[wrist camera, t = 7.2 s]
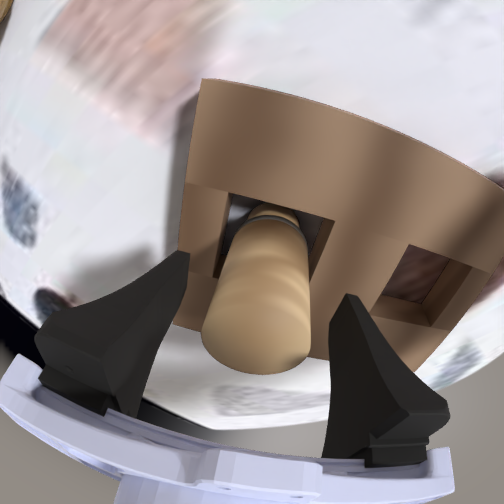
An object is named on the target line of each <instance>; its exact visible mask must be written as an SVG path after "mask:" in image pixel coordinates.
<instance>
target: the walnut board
mask: <svg viewBox="0 0 504 504" xmlns="http://www.w3.org/2000/svg"><path fill="white" fill-rule="evenodd" d="M233 193H234V194H238V195H242V196H246V197H250V198H254V199H258V200H262V201H266V202H269V203H273V204H277V205H281V206H284V207H288V208H292V209H296V210H299V211H303V212H306V213H310V214H313V215H317V216H320V217H324V219H323V222H322V224H321V227H320V230H319V232H318V235H317V237H316V240H315V243H314V245H313V248H312V250H311V253H310V255H309V258H308V267H309V291H310V327H311V346H310V351H309V353H308V355H307V357H311V358H316V359H322V360H328V361H329V348H328V333H329V322H330V320H331V319H332V317H333V315H334V313H335V312H336V310H337V308H338V306H339V305H340V303H341V301H342V299H343V297H344V295H345V294H346V293H348V294H353V295H357V296H358V297H359V298H360V300H361V301H362V303H363V305H364V306H365V308H366V309H367V311H368V313H369V314H370V316H371V317H372V319H373V321H374V322H375V324H376V325H377V327H378V328H379V330H380V331H381V333H382V334H383V336H384V337H385V339H386V340H387V342H388V343H389V344H390V346H391V347H392V349H393V350H394V351H395V352H396V354H397V355H398V356H399V357H400V358H401V360H402V361H403V362H404V363H405V364H406V365H407V366H408V368H409V369H410V370H411V371H412V372H415V371H416V370H417V369H418V368H419V367H420V366H421V365H422V364H423V363H424V362H425V361H426V359H427V358H428V357H429V356H430V355H431V354H432V353H433V352H434V351H435V350H436V348H437V347H438V346H439V345H440V344H441V343H442V341H443V340H444V339H445V338H446V337H447V336H448V334H449V333H450V332H451V331H452V329H453V328H454V327H455V326H456V325H457V323H458V322H459V321H460V319H461V318H462V317H463V316H464V314H465V313H466V312H467V310H468V309H469V308H470V306H471V305H472V304H473V302H474V301H475V299H476V298H477V297H478V295H479V294H480V292H481V291H482V289H483V288H484V286H485V285H486V283H487V282H488V280H489V279H490V277H491V276H492V274H493V273H494V271H495V269H496V268H497V266H498V265H499V263H500V261H501V260H502V258H503V256H504V188H502V187H501V186H499V185H498V184H496V183H494V182H493V181H491V180H490V179H488V178H487V177H485V176H483V175H482V174H480V173H478V172H477V171H475V170H473V169H472V168H470V167H468V166H467V165H465V164H463V163H461V162H459V161H458V160H456V159H454V158H452V157H450V156H448V155H447V154H445V153H443V152H441V151H439V150H437V149H435V148H433V147H431V146H429V145H427V144H425V143H423V142H421V141H418V140H416V139H414V138H412V137H410V136H408V135H405V134H403V133H401V132H399V131H396V130H394V129H391V128H389V127H387V126H384V125H382V124H379V123H377V122H374V121H372V120H369V119H366V118H364V117H361V116H358V115H356V114H353V113H350V112H347V111H344V110H341V109H338V108H335V107H332V106H329V105H326V104H323V103H319V102H316V101H313V100H309V99H306V98H302V97H299V96H295V95H291V94H287V93H283V92H279V91H275V90H271V89H267V88H262V87H258V86H253V85H248V84H243V83H238V82H232V81H227V80H221V79H202V81H201V86H200V91H199V96H198V102H197V107H196V113H195V118H194V124H193V130H192V136H191V143H190V149H189V156H188V163H187V170H186V177H185V185H184V193H183V201H182V210H181V219H180V229H179V239H178V250H180V251H183V252H187V253H190V262H189V271H188V281H187V288H186V291H185V294H184V297H183V299H182V302H181V305H180V307H179V309H178V311H177V313H176V315H175V317H174V319H173V324H174V325H177V326H181V327H184V328H188V329H191V330H195V331H198V332H201V330H202V327H203V324H204V321H205V318H206V315H207V312H208V309H209V306H210V303H211V300H212V298H213V295H214V292H215V289H216V286H217V283H218V280H219V277H220V275H221V272H222V269H223V266H224V263H225V260H226V258H227V256H226V255H222V254H221V251H222V246H223V241H224V236H225V231H226V226H227V221H228V216H229V211H230V207H231V202H232V197H233ZM409 244H411V245H414V246H416V247H419V248H422V249H425V250H428V251H431V252H434V253H437V254H440V255H442V256H445V257H448V258H451V259H450V260H449V262H448V264H447V265H446V267H445V269H444V270H443V272H442V273H441V275H440V277H439V278H438V280H437V281H436V283H435V284H434V286H433V288H432V289H431V291H430V292H429V294H428V295H427V297H426V298H425V300H424V301H423V302H422V304H419V303H415V302H411V301H406V300H402V299H398V298H394V297H390V296H386V295H382V294H381V292H382V291H383V289H384V287H385V286H386V284H387V282H388V281H389V279H390V277H391V276H392V274H393V272H394V270H395V269H396V267H397V265H398V263H399V261H400V260H401V258H402V256H403V254H404V252H405V250H406V248H407V247H408V245H409Z"/></svg>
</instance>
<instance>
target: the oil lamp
mask: <svg viewBox="0 0 504 504" xmlns="http://www.w3.org/2000/svg"><path fill="white" fill-rule="evenodd" d="M12 2H13V0H0V22H1V21H2V20H3V19H4V17H5V16H6V14H7V13H8V11H9V9H10V7H11V5H12Z"/></svg>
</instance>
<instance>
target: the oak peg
mask: <svg viewBox="0 0 504 504" xmlns="http://www.w3.org/2000/svg"><path fill="white" fill-rule="evenodd" d="M201 338H202V342H203V345H204V347H205V348H206V350H207V351H208V352H209V354H210V355H211V356H212V357H213V358H215V359H216V360H217V361H219V362H220V363H222V364H223V365H225V366H227V367H229V368H231V369H234V370H237V371H240V372H244V373H249V374H258V375H268V374H276V373H281V372H285V371H287V370H290V369H292V368H294V367H296V366H297V365H299V364H300V363H301V362H302V361H304V359H305V358H306V357H307V355H308V353H309V351H310V346H311V327H310V291H309V267H308V248H307V241H306V238H305V236H304V234H303V232H302V231H301V229H300V228H299V221H298V218H297V216H296V214H295V213H294V212H293V211H292V210H291V209H290V208H288V207H284V206H281V205H277V204H273V203H264V204H261V205H259V206H257V207H256V208H254V209H253V210H252V211H251V213H250V214H249V216H248V219H247V221H246V222H244V223H243V224H242V225H241V226H240V227H239V228H238V230H237V231H236V233H235V235H234V238H233V241H232V244H231V246H230V249H229V252H228V255H227V258H226V260H225V263H224V266H223V269H222V272H221V275H220V277H219V280H218V283H217V286H216V289H215V292H214V295H213V298H212V300H211V303H210V306H209V309H208V312H207V315H206V318H205V321H204V324H203V327H202V330H201Z"/></svg>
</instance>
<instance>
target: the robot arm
mask: <svg viewBox="0 0 504 504" xmlns="http://www.w3.org/2000/svg"><path fill="white" fill-rule="evenodd" d="M189 262H190V253H187V252H183V251H180V250H177V251H175V252H174V253H172V254H171V255H170V256H169V257H167V258H166V259H165V260H163V261H162V262H161V263H160V264H158V265H157V266H155V267H154V268H153V269H151V270H150V271H149V272H147V273H146V274H144V275H143V276H141V277H140V278H138V279H136V280H135V281H133V282H132V283H130V284H128V285H127V286H125V287H123V288H121V289H119V290H118V291H116V292H114V293H111V294H109V295H107V296H104V297H102V298H100V299H97V300H95V301H92V302H89V303H86V304H83V305H80V306H77V307H73V308H69V309H65V310H61V311H56V312H52V314H51V315H50V316H49V317H48V318H47V319H46V321H45V322H44V324H43V325H42V326H41V328H40V329H39V331H38V332H37V334H36V335H35V343H36V346H37V348H38V350H39V352H40V354H41V355H42V357H43V359H44V361H45V363H46V366H45V367H44V369H43V370H42V369H41V368H40V367H39V366H38V365H37V364H35V363H33V362H32V361H30V360H28V359H27V358H25V357H24V356H22V355H20V354H17V356H16V357H15V359H14V360H13V362H12V363H11V365H10V366H9V368H8V370H7V371H6V373H5V374H4V376H3V378H2V379H1V381H0V408H1V409H2V410H4V412H5V413H7V414H8V415H9V416H10V417H11V418H12V419H13V420H14V421H15V422H16V423H17V424H19V425H20V426H22V427H23V428H24V429H26V430H27V431H29V432H30V433H32V434H34V435H35V436H36V437H38V438H39V439H41V440H43V441H44V442H46V443H47V444H49V445H51V446H52V447H54V448H56V449H57V450H59V451H60V452H62V453H64V454H66V455H67V456H69V457H71V458H73V459H75V460H76V461H78V462H80V463H82V464H84V465H86V466H88V467H90V468H92V469H94V470H96V471H98V472H100V473H102V474H104V475H106V476H109V477H111V478H113V479H115V480H118V481H120V485H119V488H118V491H117V494H116V497H115V500H114V503H113V504H424V503H426V502H430V501H432V500H435V499H438V498H440V497H443V496H445V495H448V494H450V493H453V492H454V491H455V487H454V477H453V470H452V463H451V456H450V449H449V447H442V448H434V449H430V450H427V451H426V445H428V444H429V436H430V435H432V434H433V433H435V432H436V431H438V430H439V429H440V428H442V427H443V426H444V425H446V423H447V422H448V421H449V419H450V413H449V408H448V404H447V401H446V400H445V399H444V398H443V397H441V396H440V395H439V394H437V393H436V392H435V391H433V390H432V389H431V388H430V387H428V386H427V385H426V384H425V383H424V382H423V381H422V380H420V379H419V378H418V377H417V376H416V375H415V374H414V373H413V372H412V371H411V370H410V369H409V368H408V366H407V365H406V364H405V363H404V362H403V361H402V360H401V358H400V357H399V356H398V355H397V354H396V352H395V351H394V350H393V349H392V347H391V346H390V344H389V343H388V342H387V340H386V339H385V337H384V336H383V334H382V333H381V331H380V330H379V328H378V327H377V325H376V324H375V322H374V321H373V319H372V317H371V316H370V314H369V313H368V311H367V309H366V308H365V306H364V305H363V303H362V301H361V300H360V298H359V297H358V296H357V295H353V294H348V293H346V294H345V295H344V297H343V299H342V301H341V303H340V305H339V306H338V308H337V310H336V312H335V313H334V315H333V317H332V319H331V320H330V322H329V333H328V348H329V362H330V377H331V395H330V408H329V417H328V425H327V431H326V438H325V443H324V448H323V452H322V457H321V458H313V457H301V456H290V455H282V454H274V453H267V452H260V451H255V450H249V449H243V448H238V447H233V446H228V445H223V444H219V443H215V442H210V441H206V440H202V439H198V438H194V437H191V436H187V435H184V434H180V433H176V432H173V431H170V430H167V429H164V428H161V427H158V426H155V425H152V424H149V423H146V422H143V421H140V420H138V419H136V417H137V413H138V409H139V406H140V402H141V399H142V395H143V392H144V389H145V386H146V382H147V379H148V376H149V373H150V370H151V368H152V365H153V362H154V359H155V356H156V354H157V351H158V349H159V346H160V344H161V342H162V340H163V338H164V336H165V334H166V332H167V330H168V328H169V326H170V324H171V322H172V321H173V319H174V317H175V315H176V313H177V311H178V309H179V307H180V305H181V302H182V299H183V297H184V294H185V291H186V288H187V281H188V271H189Z"/></svg>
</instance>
